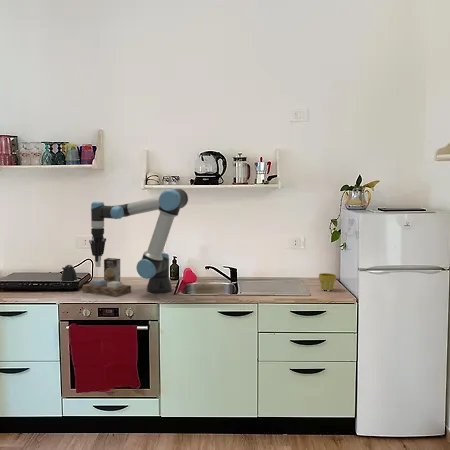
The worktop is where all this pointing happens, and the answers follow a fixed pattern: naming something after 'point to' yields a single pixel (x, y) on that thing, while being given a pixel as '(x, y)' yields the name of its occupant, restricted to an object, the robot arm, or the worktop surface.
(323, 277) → the plant pot
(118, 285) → the white key
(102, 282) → the blue key
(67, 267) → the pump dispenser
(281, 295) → the worktop surface
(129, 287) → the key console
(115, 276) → the coffee box
